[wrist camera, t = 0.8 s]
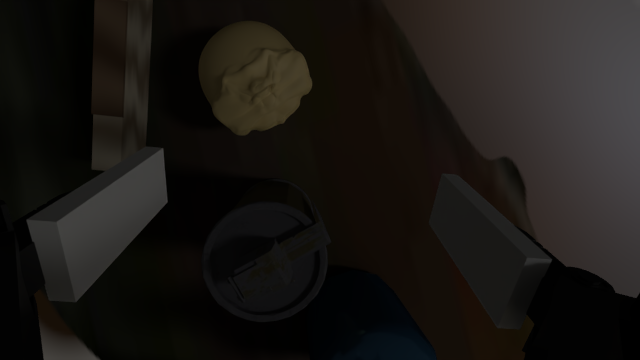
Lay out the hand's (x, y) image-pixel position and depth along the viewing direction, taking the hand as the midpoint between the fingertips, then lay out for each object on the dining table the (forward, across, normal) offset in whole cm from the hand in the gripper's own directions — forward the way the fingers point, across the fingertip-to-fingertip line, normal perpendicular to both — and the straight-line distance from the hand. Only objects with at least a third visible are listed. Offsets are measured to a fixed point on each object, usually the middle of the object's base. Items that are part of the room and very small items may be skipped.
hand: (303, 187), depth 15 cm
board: (+29, +22, -1) cm, 36 cm away
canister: (+25, +3, +16) cm, 29 cm away
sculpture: (+30, +7, 0) cm, 30 cm away
